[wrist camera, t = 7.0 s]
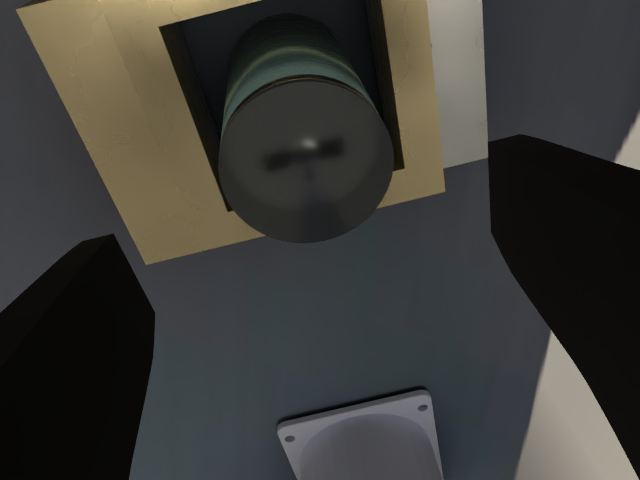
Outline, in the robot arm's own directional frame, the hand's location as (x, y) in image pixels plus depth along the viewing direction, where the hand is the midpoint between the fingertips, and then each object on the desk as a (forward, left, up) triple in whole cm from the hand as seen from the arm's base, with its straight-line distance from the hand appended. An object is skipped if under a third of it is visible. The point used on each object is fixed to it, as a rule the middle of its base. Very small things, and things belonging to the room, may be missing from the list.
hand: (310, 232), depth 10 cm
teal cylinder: (0, 0, -9) cm, 9 cm away
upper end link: (0, 0, -9) cm, 9 cm away
